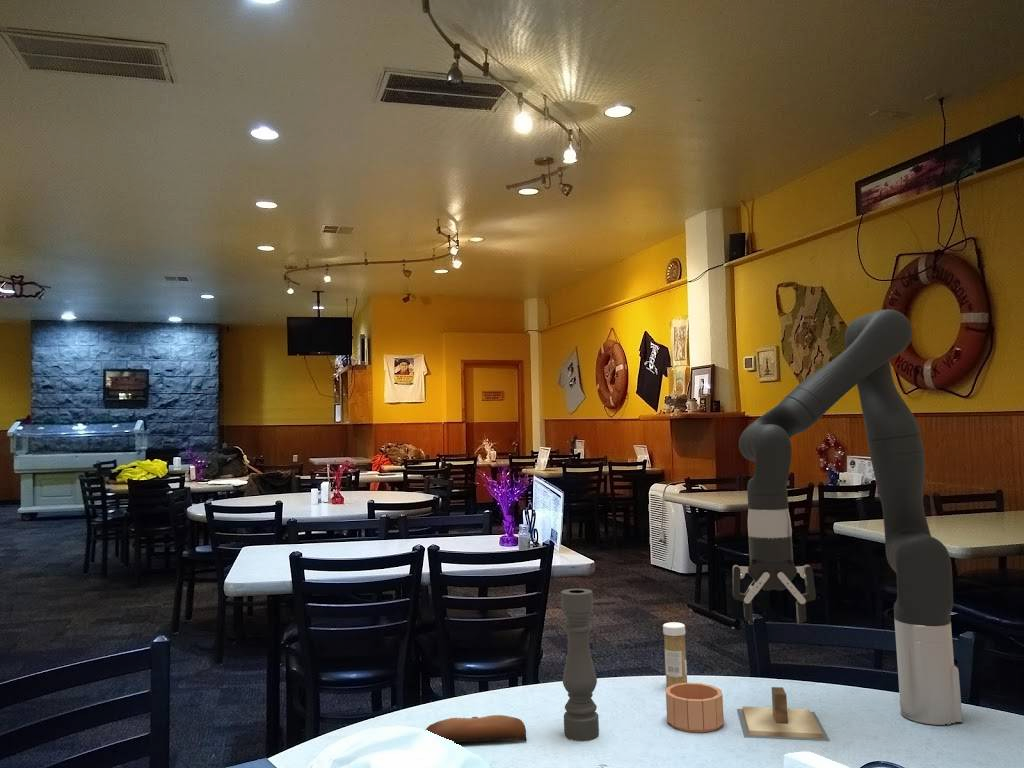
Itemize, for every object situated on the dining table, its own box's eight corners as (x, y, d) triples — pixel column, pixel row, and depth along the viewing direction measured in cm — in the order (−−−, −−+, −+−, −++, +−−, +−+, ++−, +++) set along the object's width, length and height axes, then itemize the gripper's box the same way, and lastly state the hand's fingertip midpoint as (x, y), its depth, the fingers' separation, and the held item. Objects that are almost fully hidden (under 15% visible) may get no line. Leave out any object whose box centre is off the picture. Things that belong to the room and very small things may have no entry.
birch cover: (809, 713, 140) (807, 681, 141) (822, 738, 129) (820, 703, 129) (742, 710, 143) (740, 679, 143) (749, 735, 131) (747, 700, 132)
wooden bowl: (721, 716, 142) (719, 683, 142) (725, 737, 132) (724, 701, 132) (667, 714, 144) (665, 681, 144) (667, 734, 134) (665, 699, 134)
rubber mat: (814, 714, 141) (814, 711, 141) (830, 743, 127) (830, 741, 128) (736, 711, 144) (736, 708, 144) (744, 739, 130) (744, 737, 130)
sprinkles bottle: (692, 689, 157) (689, 623, 158) (680, 695, 154) (676, 627, 155) (673, 685, 160) (670, 620, 161) (661, 690, 157) (658, 624, 158)
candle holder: (603, 730, 136) (598, 589, 138) (592, 743, 131) (587, 595, 133) (571, 725, 139) (566, 587, 141) (559, 738, 133) (554, 593, 135)
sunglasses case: (522, 724, 140) (523, 698, 137) (526, 757, 134) (527, 731, 131) (425, 730, 139) (423, 704, 136) (424, 764, 132) (422, 738, 129)
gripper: (807, 530, 141) (812, 619, 139) (727, 531, 144) (732, 618, 142) (814, 535, 133) (820, 629, 132) (731, 536, 136) (736, 628, 135)
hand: (775, 623), depth 137 cm, fingers open, 8 cm apart
